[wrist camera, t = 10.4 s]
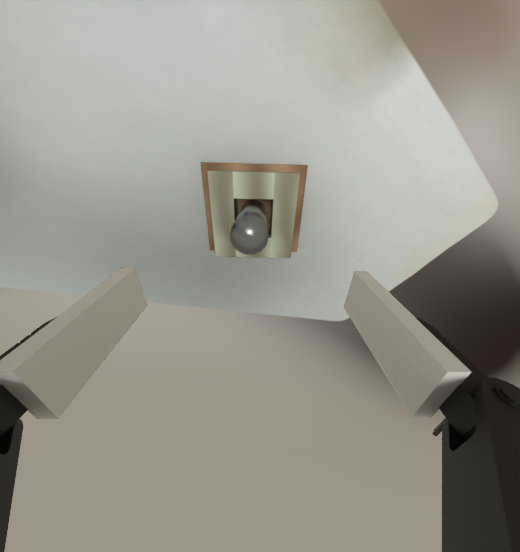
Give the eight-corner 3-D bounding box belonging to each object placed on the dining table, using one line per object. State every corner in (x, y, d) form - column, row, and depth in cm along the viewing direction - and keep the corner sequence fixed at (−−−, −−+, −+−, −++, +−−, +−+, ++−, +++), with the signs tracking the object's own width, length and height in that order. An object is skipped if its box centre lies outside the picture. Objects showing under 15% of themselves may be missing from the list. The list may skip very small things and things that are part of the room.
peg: (241, 223, 33) (230, 254, 21) (241, 198, 32) (228, 216, 19) (264, 224, 33) (267, 255, 21) (265, 199, 32) (269, 217, 19)
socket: (211, 248, 37) (203, 262, 32) (202, 162, 30) (190, 161, 25) (295, 249, 37) (302, 263, 32) (306, 165, 30) (316, 164, 25)
